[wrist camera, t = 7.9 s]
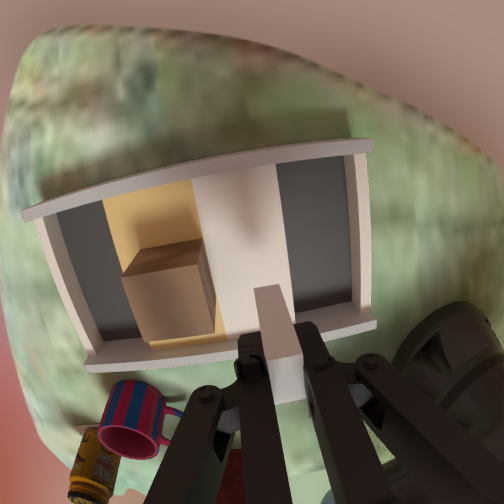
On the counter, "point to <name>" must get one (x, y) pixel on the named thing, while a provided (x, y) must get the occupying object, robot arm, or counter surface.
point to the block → (171, 291)
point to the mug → (134, 420)
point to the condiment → (93, 469)
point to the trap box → (218, 246)
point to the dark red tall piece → (232, 480)
